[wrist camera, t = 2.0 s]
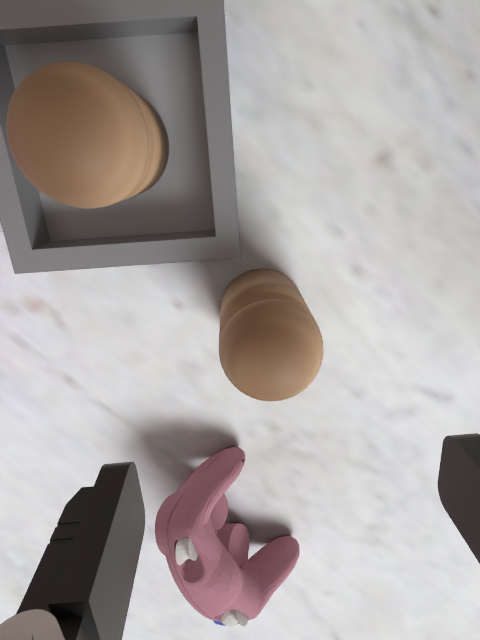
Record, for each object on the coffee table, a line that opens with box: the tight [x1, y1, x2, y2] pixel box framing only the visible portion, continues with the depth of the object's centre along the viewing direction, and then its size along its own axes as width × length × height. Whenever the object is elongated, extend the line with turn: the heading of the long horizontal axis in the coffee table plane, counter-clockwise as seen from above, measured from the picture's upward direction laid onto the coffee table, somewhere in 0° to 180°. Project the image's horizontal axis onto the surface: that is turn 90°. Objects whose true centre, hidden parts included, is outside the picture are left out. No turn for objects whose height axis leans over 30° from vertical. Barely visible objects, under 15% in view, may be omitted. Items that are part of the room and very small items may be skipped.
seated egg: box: [6, 61, 169, 209], centre depth 15 cm, size 4×4×7 cm
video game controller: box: [155, 447, 299, 626], centre depth 25 cm, size 10×5×7 cm, turn 26°
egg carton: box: [0, 0, 240, 274], centre depth 16 cm, size 10×19×3 cm, turn 4°
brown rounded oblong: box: [219, 269, 323, 401], centre depth 19 cm, size 4×4×7 cm
